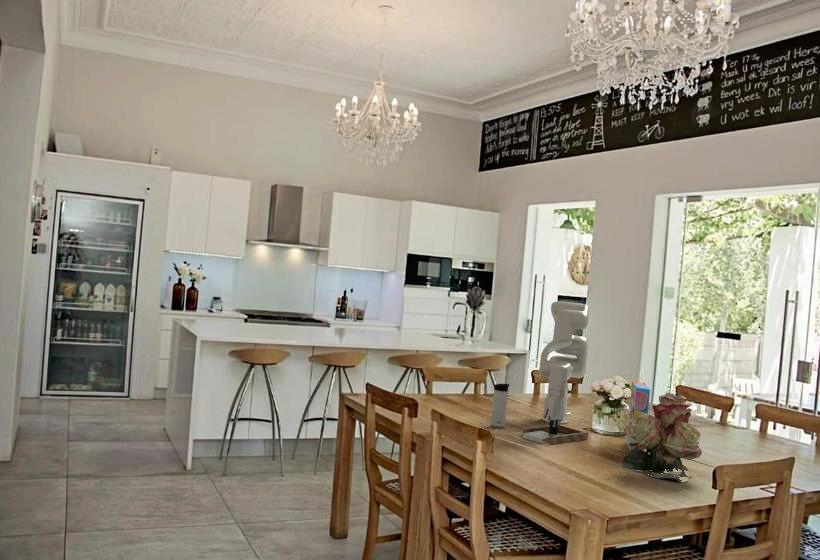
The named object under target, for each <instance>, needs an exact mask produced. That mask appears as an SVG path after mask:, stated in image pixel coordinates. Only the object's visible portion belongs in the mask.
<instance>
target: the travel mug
mask: <svg viewBox="0 0 820 560" xmlns="http://www.w3.org/2000/svg"><path fill="white" fill-rule="evenodd" d="M509 388H510V383H497V384H496V383H495V384H494V389H493V399H492V409H491V420H490V427H491V428H493V427H494V428H493V429H497V428H504V429H505V427H506V419H507V409H508V408H507V406H508V395H509Z"/></svg>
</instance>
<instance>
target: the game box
mask: <svg viewBox="0 0 820 560" xmlns="http://www.w3.org/2000/svg"><path fill="white" fill-rule="evenodd" d="M650 394H651V389H650V388H649V386H648V385H647V384H646V383H644V382H638V381H632V382H631V388H630V398H629V410H628V417H627V418H628V420H627V425H629V424H630V422H631V421H634V420H635V419H637V418H638V416H640V415H642V414H644V413H647V414H649V406H650V405H649V404H650ZM625 443H626V445H627V447H628V450H629V453H630V452H631V451H630V450H632V449H634V448H635V446H633V447H631V446H629V444H630V443H632V442H631V441H630V439H629V437H628V435H627V434H626V440H625ZM643 450H644V451H645V449H643Z"/></svg>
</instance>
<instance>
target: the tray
mask: <svg viewBox="0 0 820 560" xmlns="http://www.w3.org/2000/svg"><path fill="white" fill-rule="evenodd" d="M522 431H523V432H522V435H523V434H524V433H528V432H536V431H544V432H547V433H549V425H542V426H534V427H524V428H523V430H522ZM557 435H558V436H552V437H551V442H549V443H548V444H549V445H559V444H561V445H562V444H567V443H574V442H581V441H587V440H588V437H589V436H588V435H589V433H588V432H586V431H583V430H580V429H575V428H572V427H569V426H565V425H563V424H559V426H558V430H557Z"/></svg>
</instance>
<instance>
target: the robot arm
mask: <svg viewBox="0 0 820 560" xmlns="http://www.w3.org/2000/svg"><path fill="white" fill-rule="evenodd" d="M550 312H551V316H552V318H553V321H554V325H553V336H552V340H551V341H550V342H549V343H547V344H546V345H545V346H544V348H543V349H542V352H541V355H540V362H539V368H538V369H539V374H540V376H541V377H543V378H547V379H548V385H547V386H548V387H547V395H546V398H545V401H544V406H543V414H542V417H541V420H542V421H545V423H548V426H549V433H551V434H554V435H557V430H558V426H559V425H565V424H568V423H569V419H567V418H568V417H571V416H572V413H571V412H567V406H568V405H567V402H568V394H569V384H568V380H569V379H570V378H575V379H581V378H584V377H585V374H586V367H587V359H588V357H587V356H588V347H589V346H588V340H587V339H586V337H584V336H580V335H574V330H581V331H582V330H583V331H585V330H586V329H587V327H588V324H589V318H590V307H589V306H588V305H587V304H585V303H579V302H572V301H571V302H570V301H559V300H558V301H557V300H556V301H554V302H552V303H551V305H550ZM553 352H555V353H556V354H560V355H554V356H553V355H552V356H551V357H550V358H549V360H548V356H549V355H550V354H551V353H553ZM563 355H564V356H563ZM565 355H567V356H565ZM572 356H575V357H572Z"/></svg>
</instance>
